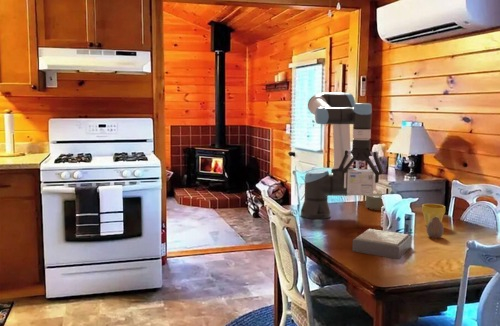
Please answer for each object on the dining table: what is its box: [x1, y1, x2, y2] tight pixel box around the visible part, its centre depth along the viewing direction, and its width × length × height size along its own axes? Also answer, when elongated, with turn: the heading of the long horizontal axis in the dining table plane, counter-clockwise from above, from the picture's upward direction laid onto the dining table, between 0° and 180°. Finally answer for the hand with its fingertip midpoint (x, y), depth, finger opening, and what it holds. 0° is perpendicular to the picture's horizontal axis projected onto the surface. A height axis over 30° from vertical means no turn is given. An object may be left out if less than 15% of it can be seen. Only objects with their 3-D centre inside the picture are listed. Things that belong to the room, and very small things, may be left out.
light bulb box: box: [347, 168, 375, 197], centre depth 214 cm, size 11×7×11 cm, turn 88°
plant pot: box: [421, 203, 446, 227], centre depth 233 cm, size 10×10×10 cm
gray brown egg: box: [426, 217, 445, 239], centre depth 213 cm, size 7×7×9 cm
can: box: [365, 193, 385, 211], centre depth 272 cm, size 12×12×7 cm
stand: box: [352, 228, 412, 260], centre depth 196 cm, size 18×18×5 cm
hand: (359, 188), depth 214 cm, fingers closed on light bulb box, 12 cm apart
